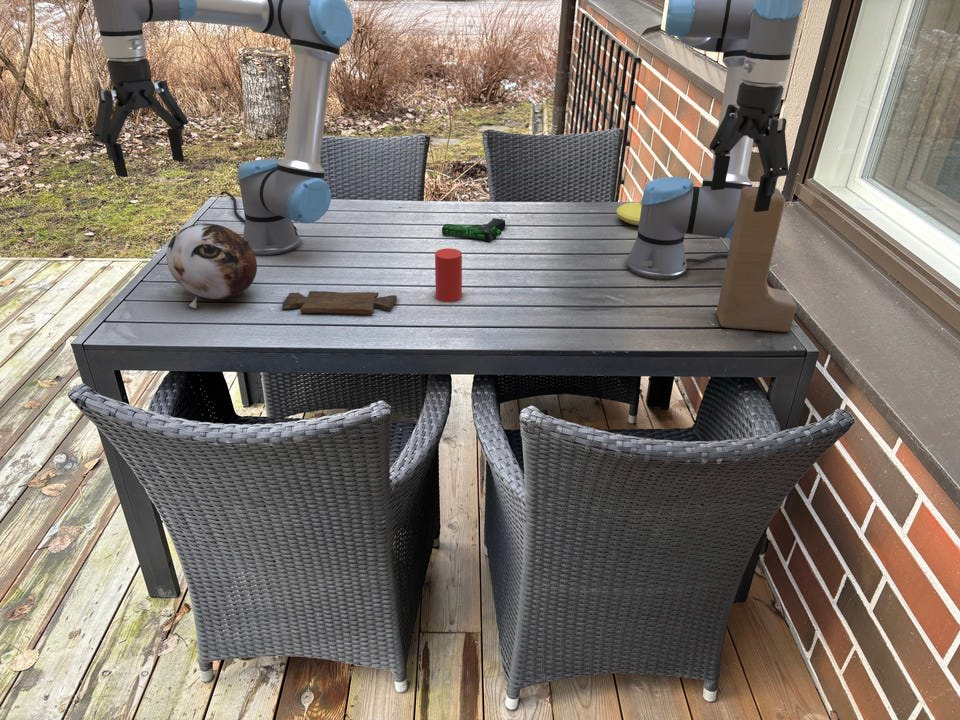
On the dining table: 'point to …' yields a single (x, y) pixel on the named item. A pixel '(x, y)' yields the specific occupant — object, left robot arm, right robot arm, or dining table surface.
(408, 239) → the dining table surface
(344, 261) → the dining table surface
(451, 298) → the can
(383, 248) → the dining table surface
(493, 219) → the handgun
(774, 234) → the decorative block
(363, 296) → the dark wooden board
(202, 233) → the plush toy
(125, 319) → the dining table surface
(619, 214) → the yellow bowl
